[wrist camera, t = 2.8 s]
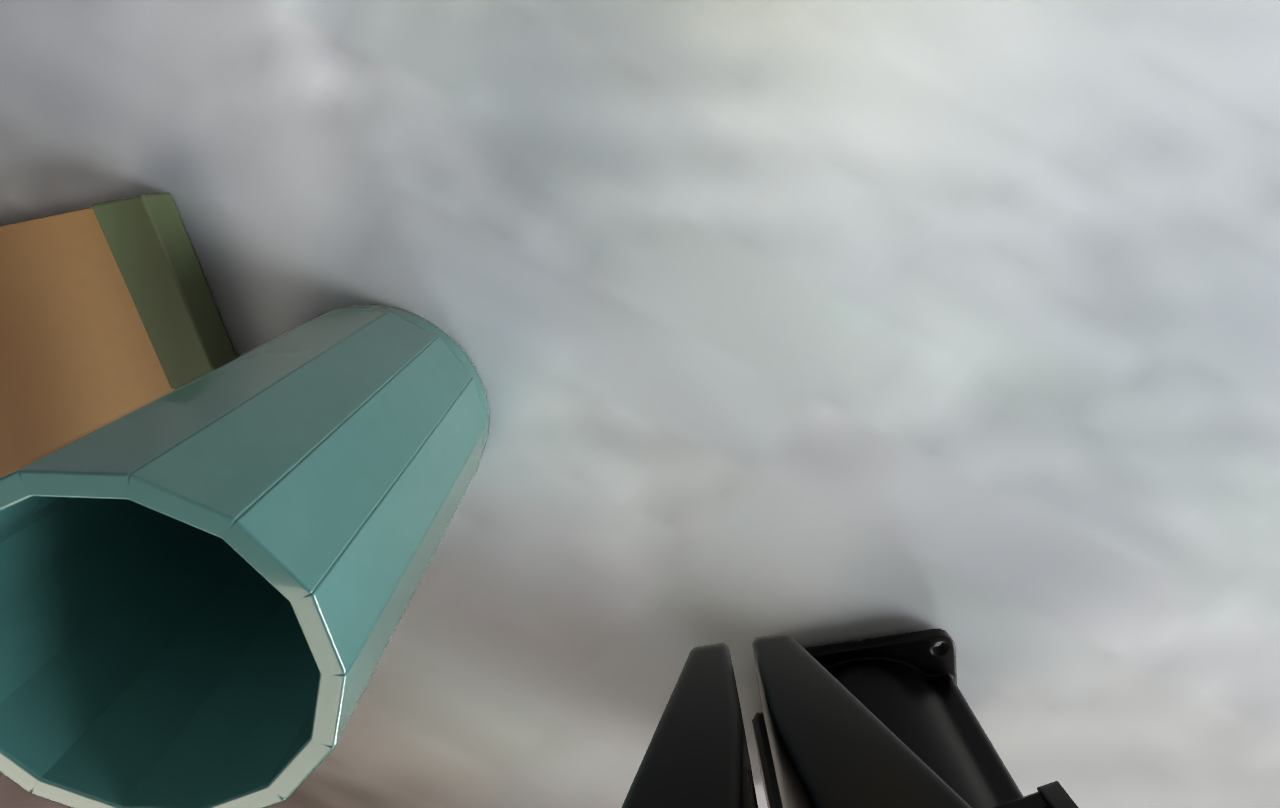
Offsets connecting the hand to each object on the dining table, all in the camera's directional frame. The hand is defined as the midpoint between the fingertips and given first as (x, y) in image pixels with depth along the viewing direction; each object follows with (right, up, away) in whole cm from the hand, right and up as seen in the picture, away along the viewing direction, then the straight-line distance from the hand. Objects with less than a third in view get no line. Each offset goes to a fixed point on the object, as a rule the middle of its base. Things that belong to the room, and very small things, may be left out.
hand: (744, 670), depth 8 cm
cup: (-9, +3, +13) cm, 16 cm away
